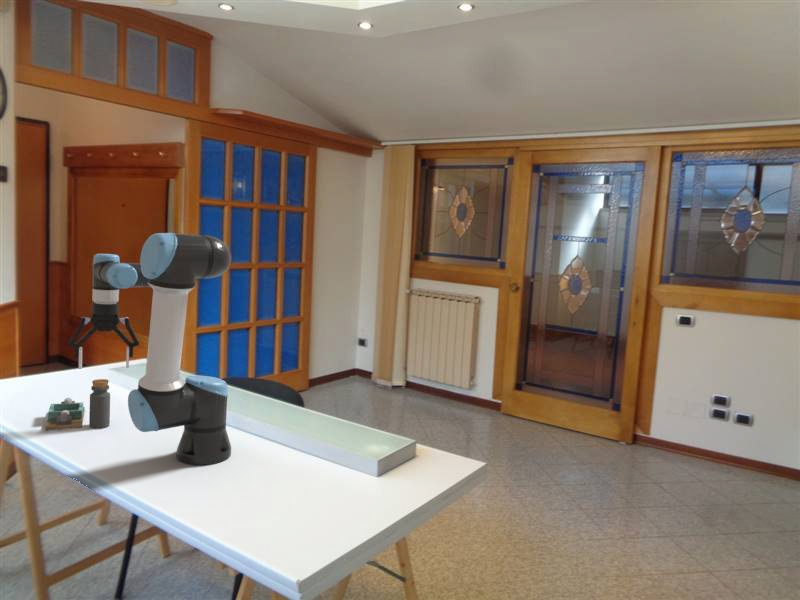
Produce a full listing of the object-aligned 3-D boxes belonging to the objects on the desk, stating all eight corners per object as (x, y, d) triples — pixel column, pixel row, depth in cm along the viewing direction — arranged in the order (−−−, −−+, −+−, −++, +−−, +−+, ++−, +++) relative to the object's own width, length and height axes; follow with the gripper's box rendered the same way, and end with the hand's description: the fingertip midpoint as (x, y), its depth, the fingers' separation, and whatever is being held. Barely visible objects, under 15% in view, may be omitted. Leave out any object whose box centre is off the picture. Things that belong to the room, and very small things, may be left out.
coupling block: (81, 427, 186) (82, 413, 186) (45, 430, 182) (45, 415, 181) (84, 410, 203) (84, 396, 203) (51, 412, 199) (51, 398, 198)
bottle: (113, 424, 192) (114, 379, 190) (102, 429, 186) (103, 383, 184) (96, 422, 192) (97, 377, 191) (85, 427, 186) (86, 382, 185)
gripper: (147, 301, 195) (145, 364, 197) (61, 300, 184) (61, 365, 187) (148, 304, 188) (146, 369, 190) (59, 303, 178) (58, 371, 180)
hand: (104, 367), depth 188 cm, fingers open, 13 cm apart
